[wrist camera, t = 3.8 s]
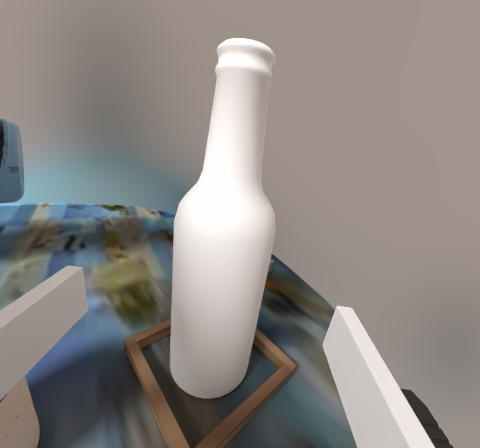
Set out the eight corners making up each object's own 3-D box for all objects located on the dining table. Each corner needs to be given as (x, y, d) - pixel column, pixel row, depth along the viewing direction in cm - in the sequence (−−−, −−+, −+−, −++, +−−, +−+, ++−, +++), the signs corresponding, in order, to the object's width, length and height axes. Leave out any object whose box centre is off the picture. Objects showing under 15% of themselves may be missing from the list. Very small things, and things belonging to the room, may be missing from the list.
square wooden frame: (124, 349, 26) (124, 339, 25) (220, 303, 35) (221, 295, 34) (185, 486, 16) (186, 476, 16) (294, 374, 26) (296, 365, 25)
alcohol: (239, 329, 31) (283, 77, 20) (255, 398, 23) (343, 40, 12) (173, 332, 29) (183, 55, 18) (164, 410, 21) (174, -7, 10)
